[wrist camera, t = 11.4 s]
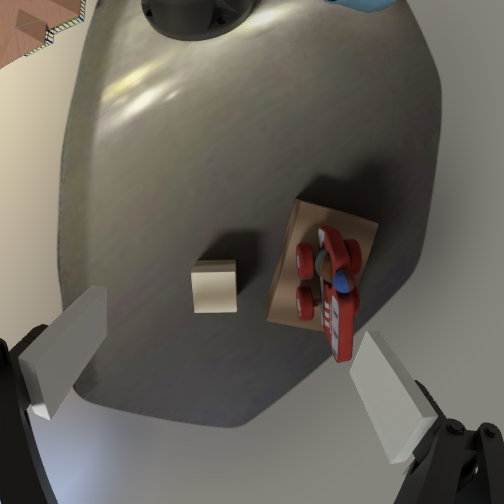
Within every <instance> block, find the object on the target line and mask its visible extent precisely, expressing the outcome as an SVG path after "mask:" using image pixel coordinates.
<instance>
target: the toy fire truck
mask: <svg viewBox="0 0 504 504" xmlns="http://www.w3.org/2000/svg"><path fill="white" fill-rule="evenodd" d="M318 237H319V252H318V253H317V255H316V256H314V254H313V250H312V246H311V244H310V243H299V244H297V246H296V264H297V271H298V276H299V278H300V279H301V280H305V279H312V278H313V277H314V271H317V273H318V274H319V276H320V298H315V299H313V295H312V292H311V288H310V286H300V287H298V288H297V290H296V303H297V312H298V316H299V319H300V321H303V322H304V321H311V320H312V319H313V318H314V307H318V306H320V309H321V323H322V326H323V329H324V331H325V333H326V336H327V338H328V340H329V342H330V345H331V348H332V353H333V356H334V358H335V360H336V361H337V363H339V362H344V361H349V360H351V358H352V347H353V330H354V315H356V314H357V313H358V311H359V306H360V299H359V292H358V289H357V286H356V279H355V276H354V275H356V274H358V273H359V272H360V270H361V267H362V253H361V248H360V245H359V243H358V241H357V240H355V239H345V240H343V239H342V236H341V234H340V232H339V230H337V229H336V228H334V227H333V226H320V227H319V231H318Z"/></svg>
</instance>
